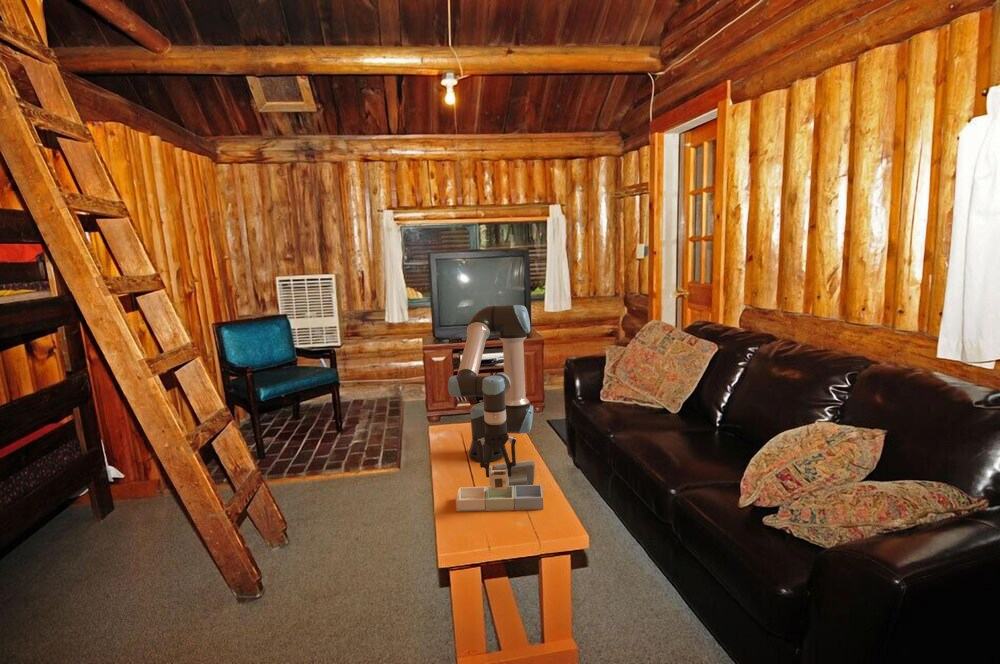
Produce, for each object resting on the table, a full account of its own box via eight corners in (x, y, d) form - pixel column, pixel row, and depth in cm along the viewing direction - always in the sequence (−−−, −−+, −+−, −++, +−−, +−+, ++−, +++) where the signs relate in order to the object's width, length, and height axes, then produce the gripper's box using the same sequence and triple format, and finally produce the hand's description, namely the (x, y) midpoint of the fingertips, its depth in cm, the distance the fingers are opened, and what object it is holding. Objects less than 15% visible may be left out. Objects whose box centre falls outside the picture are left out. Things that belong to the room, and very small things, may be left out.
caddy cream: (459, 498, 191) (459, 487, 190) (486, 497, 191) (486, 486, 190) (456, 512, 182) (455, 500, 181) (485, 511, 181) (484, 499, 180)
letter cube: (492, 483, 187) (491, 470, 186) (506, 483, 187) (505, 469, 186) (491, 490, 182) (491, 476, 181) (506, 489, 182) (505, 475, 181)
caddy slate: (515, 496, 190) (514, 485, 190) (542, 495, 190) (541, 484, 189) (514, 510, 181) (514, 498, 180) (543, 509, 180) (542, 497, 180)
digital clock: (535, 482, 201) (534, 456, 199) (536, 493, 192) (534, 466, 190) (493, 483, 202) (491, 457, 200) (491, 494, 193) (489, 467, 191)
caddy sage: (487, 497, 191) (486, 486, 190) (514, 496, 190) (513, 485, 190) (485, 511, 181) (484, 499, 180) (514, 510, 181) (513, 498, 180)
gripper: (468, 426, 177) (472, 491, 181) (521, 424, 177) (525, 489, 180) (470, 418, 185) (474, 481, 189) (521, 416, 184) (524, 479, 188)
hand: (499, 485), depth 184 cm, fingers closed on letter cube, 5 cm apart
